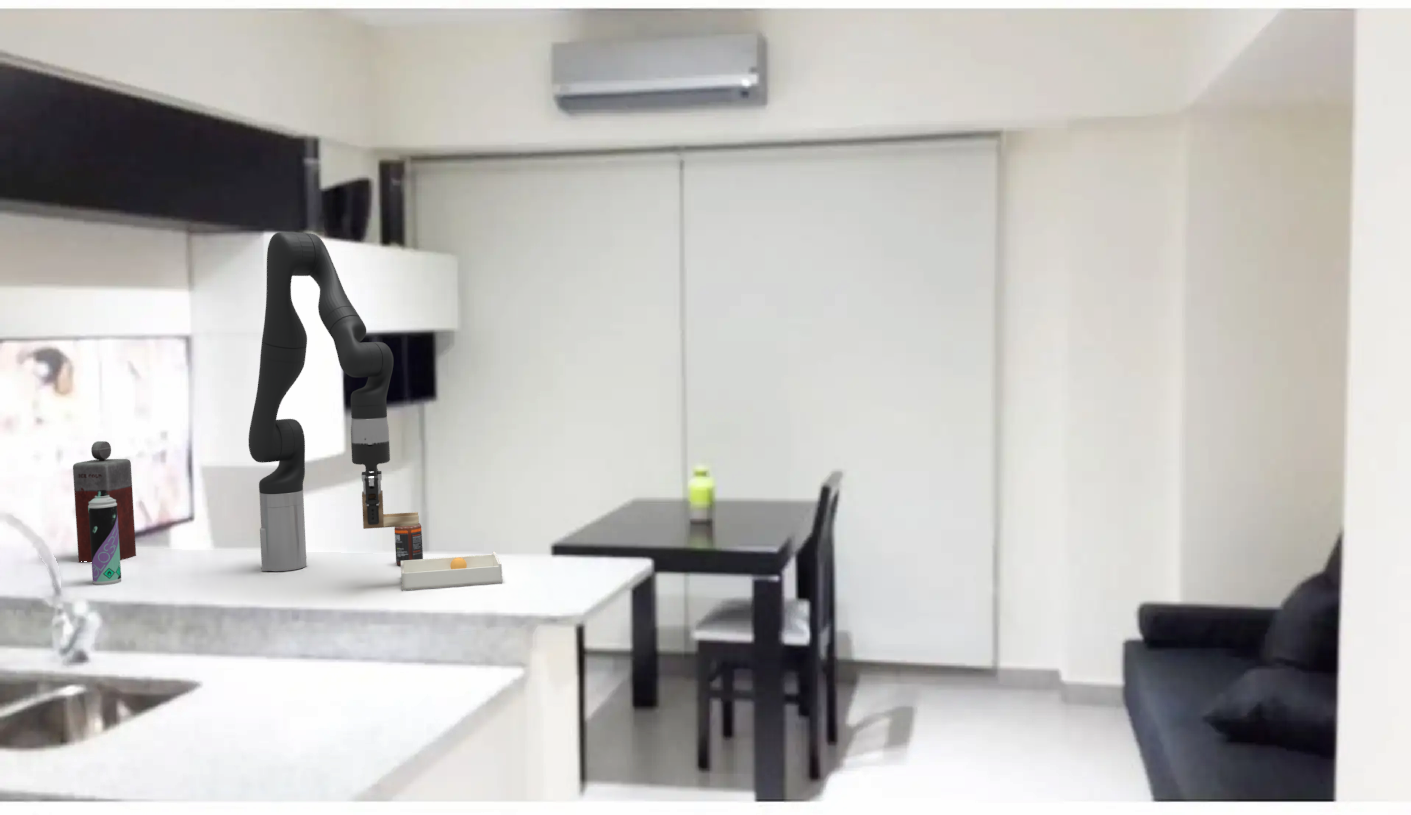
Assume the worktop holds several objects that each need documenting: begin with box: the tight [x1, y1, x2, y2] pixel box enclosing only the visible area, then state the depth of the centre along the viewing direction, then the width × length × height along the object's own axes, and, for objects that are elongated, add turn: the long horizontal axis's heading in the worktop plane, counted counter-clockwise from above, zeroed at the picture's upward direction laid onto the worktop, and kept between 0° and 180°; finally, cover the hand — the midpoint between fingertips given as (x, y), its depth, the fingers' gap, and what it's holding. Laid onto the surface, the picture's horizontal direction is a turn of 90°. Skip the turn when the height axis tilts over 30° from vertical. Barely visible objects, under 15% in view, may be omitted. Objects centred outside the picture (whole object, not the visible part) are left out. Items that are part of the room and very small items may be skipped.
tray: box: [400, 551, 503, 592], centre depth 251 cm, size 20×14×4 cm
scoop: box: [361, 489, 420, 530], centre depth 247 cm, size 11×5×7 cm, turn 105°
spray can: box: [88, 490, 122, 586], centre depth 256 cm, size 6×6×20 cm
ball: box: [450, 556, 467, 569], centre depth 255 cm, size 3×3×3 cm
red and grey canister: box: [72, 440, 137, 563], centre depth 283 cm, size 9×11×28 cm
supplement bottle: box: [393, 522, 424, 567], centre depth 269 cm, size 6×6×11 cm
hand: (373, 521), depth 246 cm, fingers closed on scoop, 5 cm apart
